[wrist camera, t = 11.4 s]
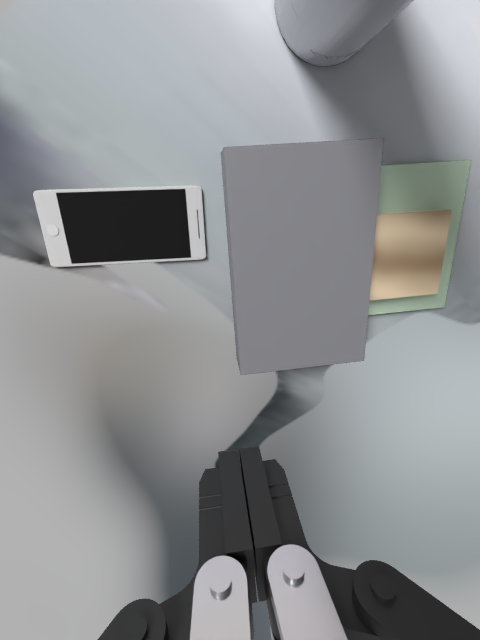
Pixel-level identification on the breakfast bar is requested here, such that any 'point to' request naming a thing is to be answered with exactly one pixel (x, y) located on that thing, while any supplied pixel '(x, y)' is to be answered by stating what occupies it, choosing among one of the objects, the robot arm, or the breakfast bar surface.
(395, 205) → the sage mat
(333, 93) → the breakfast bar surface
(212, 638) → the robot arm
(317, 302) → the gray rectangular box
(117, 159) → the breakfast bar surface
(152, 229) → the smartphone
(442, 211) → the cork coaster
